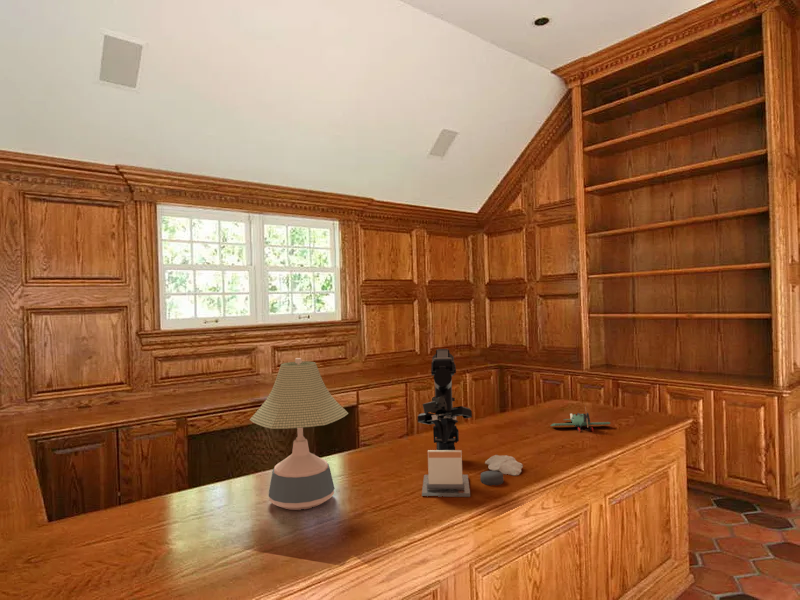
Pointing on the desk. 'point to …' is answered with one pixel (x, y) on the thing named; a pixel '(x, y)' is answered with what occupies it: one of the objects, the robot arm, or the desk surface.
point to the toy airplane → (580, 421)
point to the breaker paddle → (445, 469)
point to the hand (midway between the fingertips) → (444, 442)
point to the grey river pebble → (491, 478)
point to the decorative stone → (504, 465)
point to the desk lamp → (299, 434)
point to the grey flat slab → (446, 492)
